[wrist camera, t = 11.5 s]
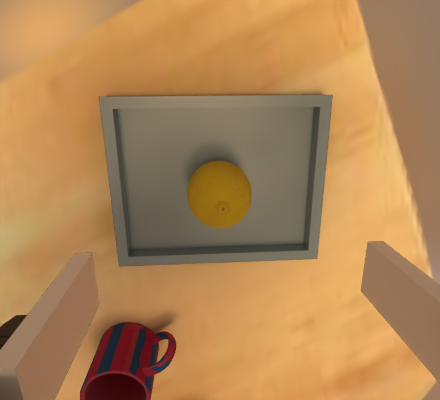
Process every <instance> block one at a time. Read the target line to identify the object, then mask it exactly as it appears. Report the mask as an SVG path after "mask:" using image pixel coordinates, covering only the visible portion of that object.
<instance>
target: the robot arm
mask: <svg viewBox="0 0 440 400" xmlns="http://www.w3.org/2000/svg"><path fill="white" fill-rule="evenodd" d="M361 292H362V293H363V294H364V295H365V296H366V298H367V299H368V300H369V301H370V302H371V303H372V305H373V306H374V307H375V308H376V309H377V310H378V312H379V313H380V314H381V315H382V316H383V317H384V319H385V320H386V321H387V322H388V323H389V324H390V326H391V327H392V328H393V329H394V330H395V332H396V333H397V334H398V335H399V336H400V337H401V339H402V340H403V341H404V342H405V343H406V344H407V346H408V347H409V348H410V349H411V350H412V351H413V353H414V354H415V355H416V356H417V357H418V358H419V360H420V361H421V362H422V363H423V364H424V365H425V367H426V368H427V369H428V370H429V371H430V373H431V374H432V375H433V376H434V377H435V378H436V380H437V381H438V382H439V383H440V285H439V284H438V283H437V282H435V281H434V280H433V279H432V278H430V277H429V276H428V275H426V274H425V273H424V272H422V271H421V270H420V269H419V268H417V267H416V266H415V265H413V264H412V263H411V262H409V261H408V260H407V259H406V258H404V257H403V256H402V255H400V254H399V253H398V252H396V251H395V250H394V249H392V248H391V247H390V246H389V245H387V244H386V243H385V242H383V241H373V242H368V243H367V250H366V257H365V264H364V271H363V278H362V285H361ZM98 306H99V297H98V290H97V283H96V276H95V269H94V262H93V255H92V253H75V254H74V255H73V257H72V258H71V259H70V261H69V262H68V263H67V264H66V266H65V267H64V268H63V270H62V271H61V272H60V273H59V275H58V276H57V277H56V279H55V280H54V281H53V283H52V284H51V285H50V286H49V288H48V289H47V290H46V292H45V293H44V294H43V295H42V297H41V298H40V299H39V301H38V302H37V303H36V304H35V306H34V307H33V308H32V310H31V311H30V312H29V314H28V315H16V316H15V317H13V318H12V319H10V320H9V321H8V322H6V323H5V324H3V325H2V326H1V327H0V400H55V398H56V396H57V394H58V392H59V390H60V387H61V385H62V383H63V381H64V379H65V377H66V375H67V372H68V370H69V368H70V366H71V364H72V362H73V360H74V357H75V355H76V353H77V351H78V349H79V347H80V345H81V342H82V340H83V338H84V336H85V334H86V332H87V329H88V327H89V325H90V323H91V321H92V319H93V317H94V314H95V312H96V310H97V308H98Z"/></svg>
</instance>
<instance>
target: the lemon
mask: <svg viewBox="0 0 440 400" xmlns="http://www.w3.org/2000/svg"><path fill="white" fill-rule="evenodd" d="M251 198H252V191H251V185H250V183H249V180H248V178H247V176H246V175H245V174H244V172H243V171H242V170H241V169H240V168H238V167H237V166H235V165H234V164H232V163H229V162H226V161H212V162H209V163H206V164H204V165H202V166H201V167H200V168H198V169H197V170H196V171H195V172H194V174H193V175H192V177H191V179H190V181H189V183H188V188H187V200H188V204H189V207H190V209H191V211H192V213H193V214H194V215H195V217H196V218H197V219H198V220H199V221H201V222H202V223H203V224H205V225H207V226H209V227H213V228H227V227H231V226H233V225H235V224H237V223H238V222H239V221H241V220H242V219H243V218H244V216H245V215H246V214H247V212H248V210H249V207H250V205H251Z"/></svg>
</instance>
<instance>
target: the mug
mask: <svg viewBox="0 0 440 400" xmlns="http://www.w3.org/2000/svg"><path fill="white" fill-rule="evenodd" d="M164 339H168V340H169V344H168V348H167V351H166V353H165V355H164V356H163V357H162V359H161V360H160V361H159V362H157V356H158V350H159V344H158V341H161V340H164ZM175 350H176V341H175V338H174V337H173V335H172V334H170V333H169V332H166V331H162V332H158V333H153V332H152V331H151V330H150V329H148V328H146V327H145V326H143V325H140V324H136V323H121V324H118V325H115V326H113V327H111V328H110V329H108V330H107V331H106V332H105V333H104V335H103V336H102V339H101V341H100V344H99V346H98V348H97V351H96V353H95V356H94V358H93V361H92V363H91V366H90V368H89V371H88V373H87V376H86V378H85V381H84V383H83V386H82V388H81V391H80V400H150V399H151V393H152V387H153V381H154V375H155V374H157V373H159V372H161V371H162V370H164V369H165V368H166V367H167V366H168V365H169V364H170V362H171V361H172V359H173V357H174V354H175ZM156 362H157V363H156Z"/></svg>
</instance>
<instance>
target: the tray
mask: <svg viewBox="0 0 440 400" xmlns="http://www.w3.org/2000/svg"><path fill="white" fill-rule="evenodd" d="M332 97H333V95H238V96H121V97H99V101H100V110H101V118H102V127H103V135H104V144H105V152H106V160H107V169H108V177H109V186H110V194H111V203H112V211H113V220H114V228H115V237H116V245H117V254H118V262H119V266H142V265H169V264H196V263H222V262H249V261H276V260H302V259H317V255H318V245H319V234H320V224H321V213H322V203H323V192H324V182H325V171H326V161H327V150H328V139H329V129H330V118H331V108H332ZM212 161H226V162H229V163H232V164H234V165H235V166H237V167H238V168H240V169H241V170H242V171H243V172H244V174H245V175H246V176H247V178H248V180H249V183H250V185H251V191H252V198H251V205H250V207H249V210H248V212H247V214H246V215H245V216H244V218H243V219H242V220H241V221H239V222H238V223H237V224H235V225H233V226H231V227H227V228H213V227H209V226H207V225H205V224H203V223H202V222H201V221H199V220H198V219H197V218H196V217H195V215H194V214H193V213H192V211H191V209H190V207H189V204H188V200H187V188H188V183H189V181H190V179H191V177H192V175H193V174H194V172H195V171H196V170H197V169H198V168H200V167H201V166H202V165H204V164H206V163H209V162H212Z"/></svg>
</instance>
